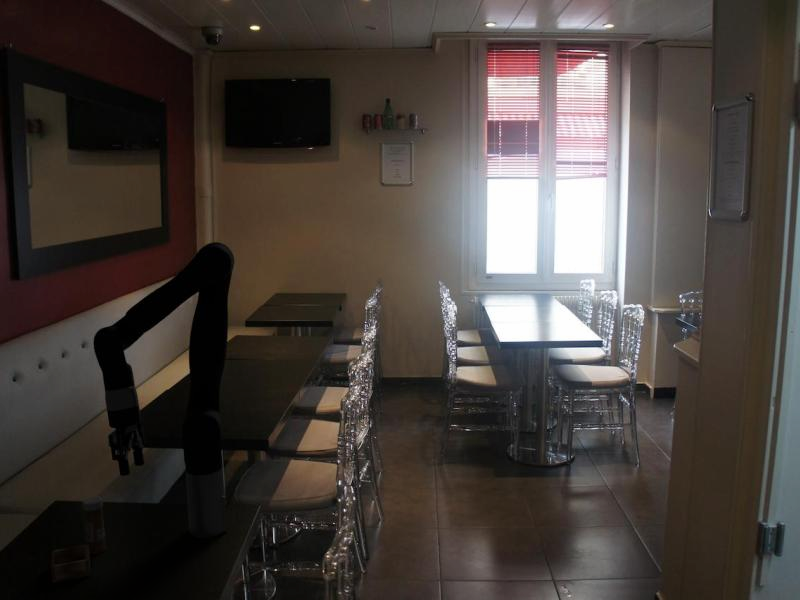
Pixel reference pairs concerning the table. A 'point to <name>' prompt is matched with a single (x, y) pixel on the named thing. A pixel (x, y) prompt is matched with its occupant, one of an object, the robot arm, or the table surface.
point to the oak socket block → (70, 563)
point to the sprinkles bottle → (94, 524)
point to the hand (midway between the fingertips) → (132, 470)
